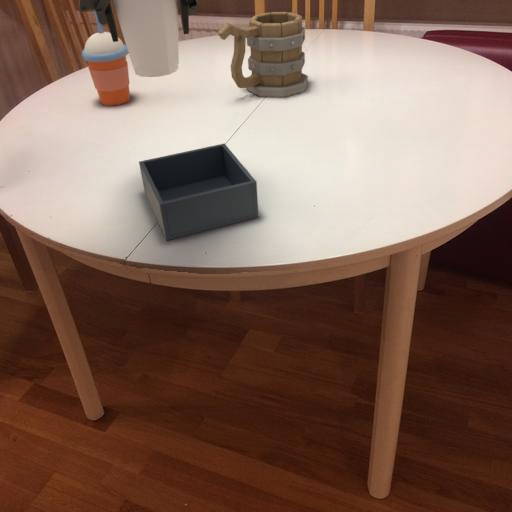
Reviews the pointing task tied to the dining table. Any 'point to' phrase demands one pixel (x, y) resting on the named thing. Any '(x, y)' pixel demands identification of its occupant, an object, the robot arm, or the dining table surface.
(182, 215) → the bin
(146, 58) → the foam cup
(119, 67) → the cup with straw
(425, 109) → the dining table surface
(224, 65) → the dining table surface
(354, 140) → the dining table surface
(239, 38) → the tankard
